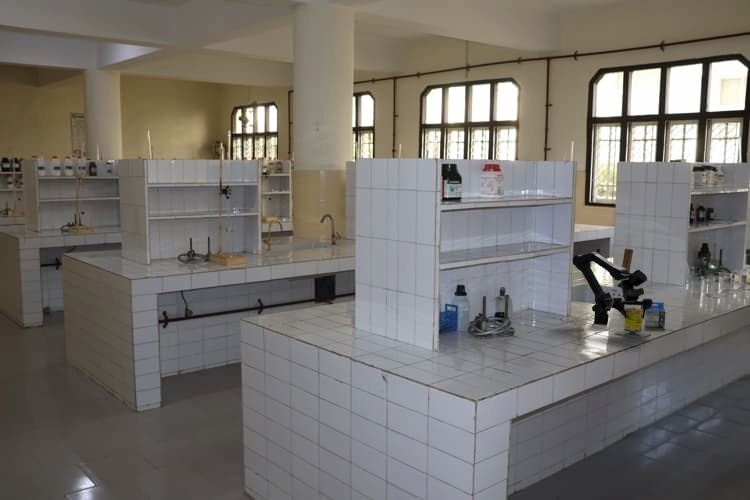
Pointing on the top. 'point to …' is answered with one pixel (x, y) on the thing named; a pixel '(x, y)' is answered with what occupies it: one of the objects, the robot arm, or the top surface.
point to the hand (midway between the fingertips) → (634, 318)
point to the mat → (633, 334)
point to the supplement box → (633, 320)
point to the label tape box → (655, 315)
